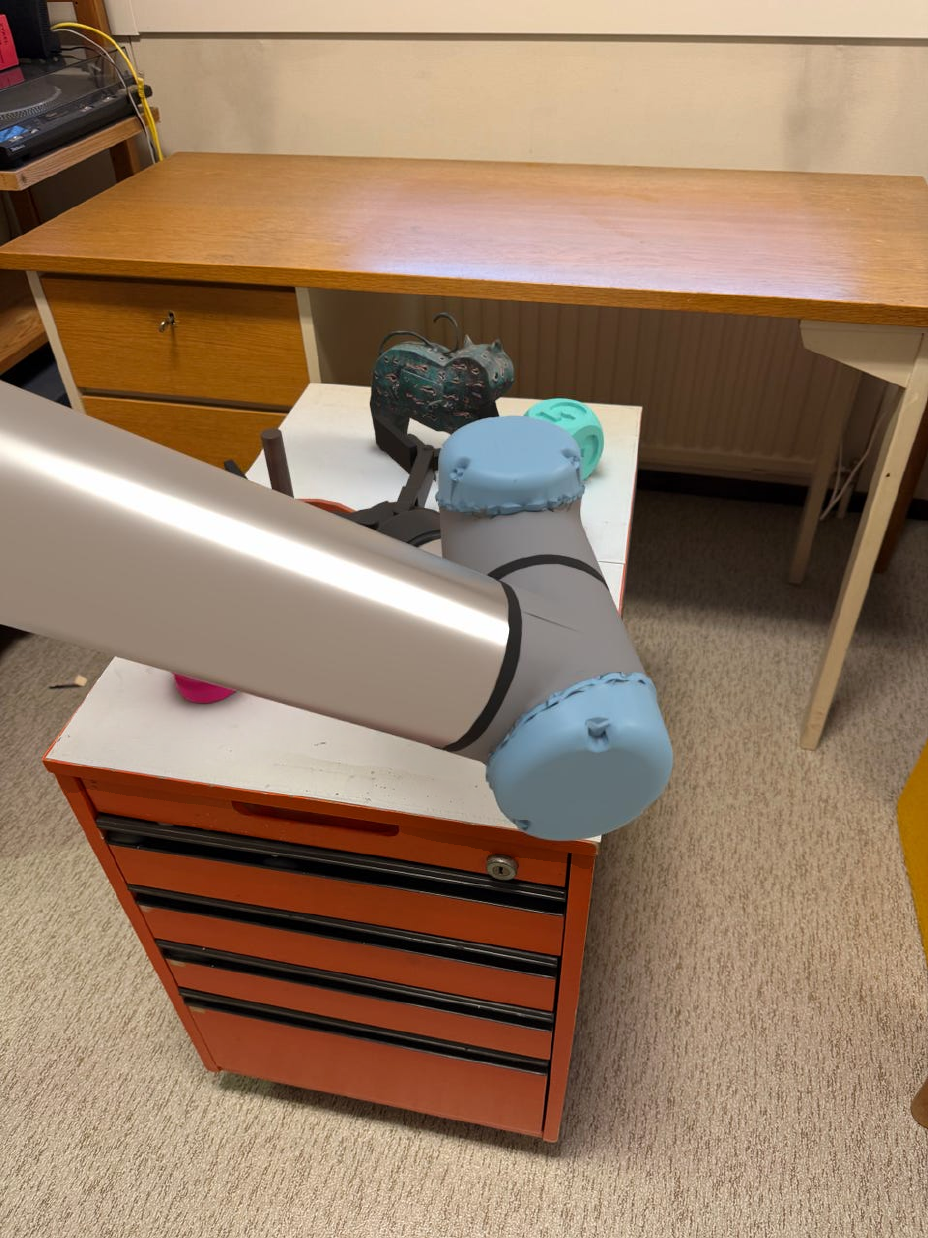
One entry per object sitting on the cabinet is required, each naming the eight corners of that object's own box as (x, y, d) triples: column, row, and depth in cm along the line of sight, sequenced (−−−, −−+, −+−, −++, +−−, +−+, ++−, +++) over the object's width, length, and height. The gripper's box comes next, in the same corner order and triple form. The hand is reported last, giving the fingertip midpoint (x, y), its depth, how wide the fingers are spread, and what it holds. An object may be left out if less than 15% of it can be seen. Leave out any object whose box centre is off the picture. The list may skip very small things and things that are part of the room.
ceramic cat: (517, 475, 111) (518, 319, 98) (488, 499, 107) (485, 340, 94) (395, 433, 120) (380, 286, 107) (364, 454, 116) (345, 304, 103)
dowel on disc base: (275, 604, 92) (240, 453, 80) (270, 570, 97) (237, 423, 85) (332, 594, 93) (306, 443, 81) (324, 561, 98) (299, 413, 86)
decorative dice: (512, 469, 112) (513, 412, 106) (558, 447, 115) (560, 391, 110) (556, 495, 107) (559, 436, 102) (602, 471, 111) (607, 413, 105)
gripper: (271, 689, 59) (174, 534, 73) (573, 563, 68) (436, 448, 82) (250, 602, 54) (150, 454, 68) (578, 480, 63) (432, 372, 77)
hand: (306, 450), depth 75 cm, fingers open, 13 cm apart
